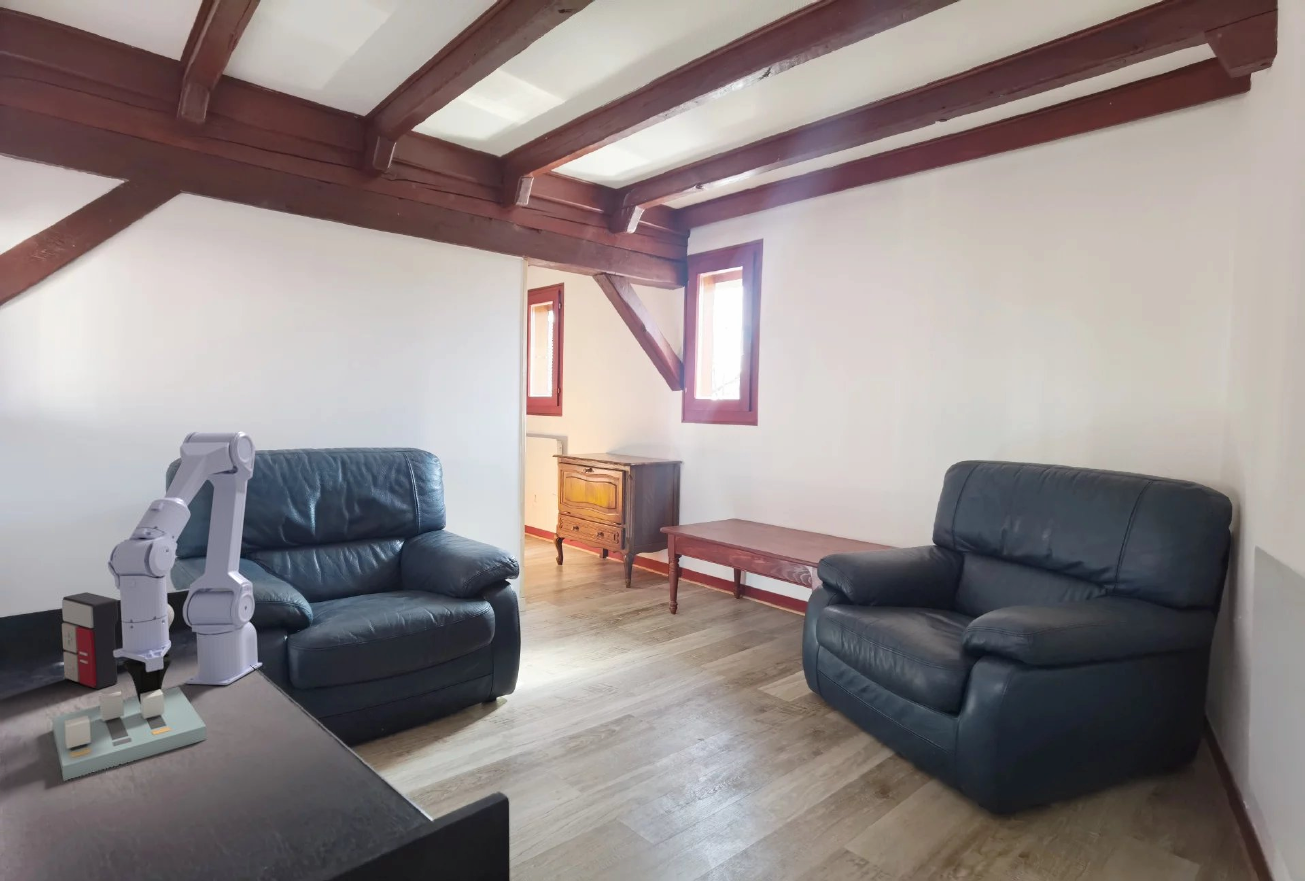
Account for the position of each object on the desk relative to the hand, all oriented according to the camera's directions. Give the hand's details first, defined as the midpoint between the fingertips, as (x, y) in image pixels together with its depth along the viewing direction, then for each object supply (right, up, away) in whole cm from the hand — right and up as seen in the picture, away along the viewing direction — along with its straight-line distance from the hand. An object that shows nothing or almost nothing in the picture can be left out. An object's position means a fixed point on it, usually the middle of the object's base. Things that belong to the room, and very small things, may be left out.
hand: (149, 704), depth 107 cm
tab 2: (-4, -1, -2) cm, 5 cm away
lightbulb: (-19, -2, +29) cm, 35 cm away
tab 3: (+2, -1, -2) cm, 3 cm away
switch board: (-1, -3, -3) cm, 5 cm away
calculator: (-23, -3, +17) cm, 28 cm away
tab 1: (-2, -1, -11) cm, 11 cm away
